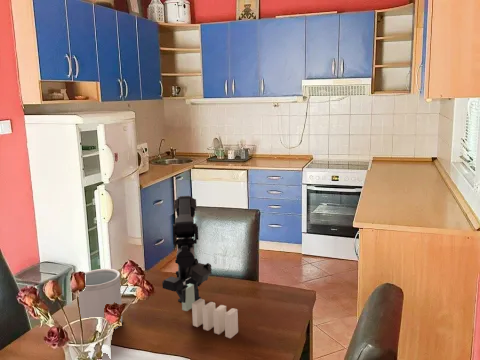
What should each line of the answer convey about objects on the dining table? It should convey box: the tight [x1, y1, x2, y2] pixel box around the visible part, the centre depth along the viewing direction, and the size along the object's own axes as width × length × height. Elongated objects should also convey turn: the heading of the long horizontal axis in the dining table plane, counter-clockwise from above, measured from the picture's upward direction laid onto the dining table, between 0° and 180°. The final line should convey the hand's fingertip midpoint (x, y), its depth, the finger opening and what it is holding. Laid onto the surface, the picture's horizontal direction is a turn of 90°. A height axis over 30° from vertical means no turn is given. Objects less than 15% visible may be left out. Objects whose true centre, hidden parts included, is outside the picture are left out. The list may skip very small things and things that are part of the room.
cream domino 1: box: [191, 298, 206, 328], centre depth 148 cm, size 2×4×8 cm, turn 146°
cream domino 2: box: [202, 301, 217, 332], centre depth 145 cm, size 2×4×8 cm, turn 146°
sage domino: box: [181, 283, 195, 312], centre depth 150 cm, size 2×4×8 cm, turn 146°
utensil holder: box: [77, 268, 123, 330], centre depth 148 cm, size 15×15×18 cm
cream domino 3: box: [213, 304, 227, 335], centre depth 143 cm, size 2×4×8 cm, turn 146°
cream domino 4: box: [224, 307, 239, 339], centre depth 141 cm, size 2×4×8 cm, turn 146°
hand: (188, 299), depth 150 cm, fingers closed on sage domino, 4 cm apart
